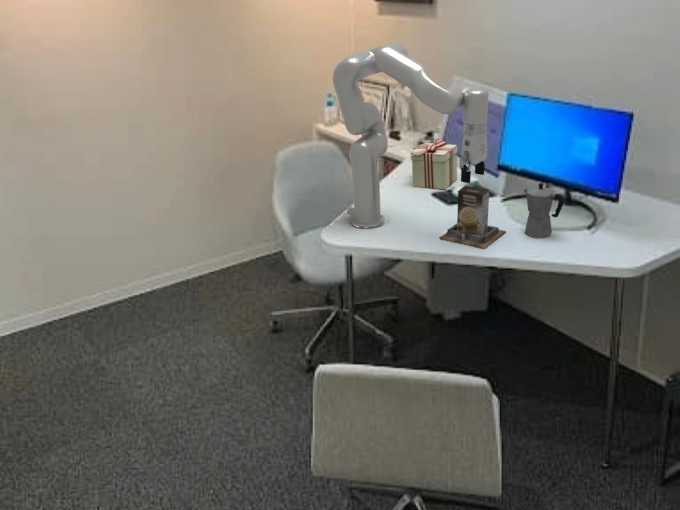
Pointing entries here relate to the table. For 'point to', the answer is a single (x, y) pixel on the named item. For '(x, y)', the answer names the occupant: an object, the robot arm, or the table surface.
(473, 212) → the coffee box
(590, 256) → the table surface
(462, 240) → the tray
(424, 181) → the gift box
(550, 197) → the coffeepot
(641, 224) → the table surface
